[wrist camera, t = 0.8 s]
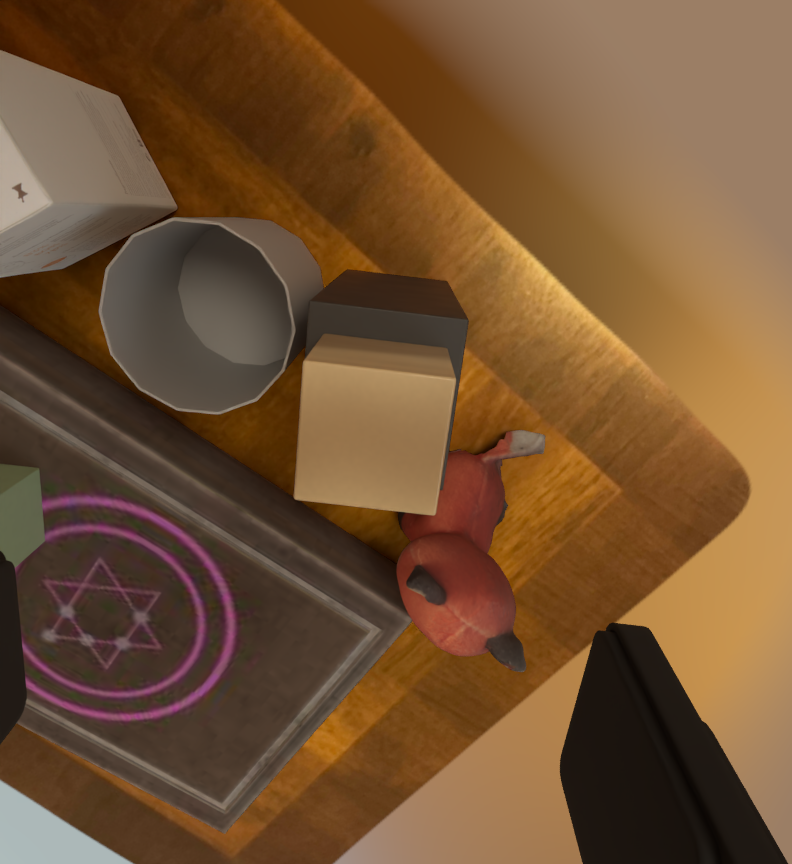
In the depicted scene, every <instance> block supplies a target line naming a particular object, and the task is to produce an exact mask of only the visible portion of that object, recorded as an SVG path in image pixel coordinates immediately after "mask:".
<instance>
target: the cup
mask: <svg viewBox="0 0 792 864" xmlns="http://www.w3.org/2000/svg"><path fill="white" fill-rule="evenodd" d="M323 289H324V288H323V282H322V276H321V270H320V267H319V265H318V264H317V262H316V261H315V259H314V258H313V256H312V255H311V253H310V252H309V250H308V249H307V247H306V246H305V244H304V243H303V241H302V240H301V239H300V238H299V237H297V236H295V235H294V234H292V233H291V232H289V231H287V230H286V229H284V228H282V227H281V226H279V225H277V224H276V223H274V222H273V221H270V220H260V219H250V218H239V217H173V218H171V219H168V220H166V221H163V222H161V223H159V224H156V225H154V226H151V227H149V228H146V229H144V230H142V231H139V232H137V233H134V234H132V235H131V237H130V238H129V239H128V240H127V242H126V243H125V244H124V246H123V247H122V248H121V249H120V251H119V252H118V253H117V255H116V256H115V257H114V258H113V260H112V261H111V262H110V264H109V265H108V266H107V267H106V270H105V276H104V282H103V288H102V293H101V299H100V305H99V311H98V312H99V315H100V319H101V322H102V326H103V329H104V333H105V337H106V340H107V344H108V347H109V351H110V354H111V356H112V357H113V358H114V359H115V361H116V362H117V363H118V364H119V366H120V367H121V368H122V369H123V371H124V372H125V373H126V374H127V376H128V377H129V378H130V379H131V381H132V382H133V383H134V384H135V385H136V387H137V388H138V389H139V390H140V391H142V392H144V393H146V394H148V395H150V396H151V397H153V398H155V399H157V400H159V401H161V402H162V403H164V404H166V405H168V406H170V407H171V408H173V409H175V410H177V411H186V412H197V413H207V414H218V415H219V414H222V413H225V412H228V411H230V410H233V409H236V408H239V407H241V406H244V405H247V404H250V403H252V402H255V401H257V400H258V399H259V398H260V397H261V396H262V395H263V394H264V393H265V392H266V391H267V390H268V388H269V387H270V386H271V385H272V384H273V383H274V382H275V381H276V380H277V379H278V378H279V377H280V375H281V374H282V373H283V372H284V371H285V370H286V369H287V367H288V366H289V365H290V364H291V363H292V361H293V360H294V359H295V358H296V357H297V355H298V354H299V353H300V352H301V350H302V349H303V348H304V347H305V346H306V337H307V322H308V308H309V301H310V300H311V299H312V298H313V297H315V296H316V295H317V294H318V293H319V292H321V291H322V290H323Z"/></svg>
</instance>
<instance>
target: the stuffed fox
mask: <svg viewBox="0 0 792 864" xmlns="http://www.w3.org/2000/svg"><path fill="white" fill-rule="evenodd" d="M544 448H545V436H544V435H542V434H539V433H532V432H529V431H525V430H517V431H509V432H506V436H505V439H504V440H502V439H500V440H499V442H498V444H497V446H496V448H493V449H491V450H489V451H487V452H486V453H484V454H482V453H480V454H479V455H472V454H471V453H468V452H467V451H466V450H464V451H461V449H458V450H457V451H452V452H449V453H448V460H447V467H446V473H445V480H444V486H443V490H440V492H439V498H438V505H437V512H436V514H435V515H433V516H432V515H424V514H415V513H406V512H398V521H399V525H400V528H401V529H402V531H403V532H404V534H405V535H406V536H407V537H408V539H409V540H410V541H411V542H410V543H409V544H408V545H407V546H406V547H405V548H404V550H403V551H402V553H401V555H400V557H399V559H398V563H397V571H396V572H397V579H398V584H399V589H400V593H401V597H402V600H403V603H404V605H405V608H406V610H407V612H408V614H409V616H410V618H411V619H412V621H413V622H414V624H415V625H416V626H417V627H418V628H419V629H420V630H421V632H422V633H424V635H425V636H426V637H427V638H428V639H429V640H430V641H431V642H432V643H433V644H435V645H436V646H437V647H439V648H440V649H442V650H444V651H446V652H448V653H451V654H454V655H457V656H474V655H480V654H483V653H487V652H489V651H490V652H491V654H492V655H493V656H494V657H495V658H496V659H497V660H498V661H499V662H500V663H502V664H503V665H505V666H506V667H507V668H509V669H511V670H513V671H518V672H524V671H525V670H526V663H525V659H524V654H523V646H522V644H521V642H520V641H519V639H518V638H517V637H516V636H515V635H514V633H513V625H514V620H515V614H516V606H515V600H514V595H513V592H512V589H511V587H510V584H509V582H508V580H507V578H506V576H505V575H504V573H503V571H502V570H501V568H500V567H499V565H498V564H497V563H496V562H495V561H494V559H493V558H492V557H490V556H489V555H488V554H487V553H488V551H489V548H490V545H491V542H492V536H493V532H494V529H495V526H497V525H498V524H499V523H500V522H501V521H502V519H503V518H504V514H505V510H507V509H506V508H507V506H508V505H507V503H506V502H505V491H504V486H503V483H502V480H501V470H500V466H502V459H508V458H515V457H519V456H529V455H533V454H542V453H544ZM518 675H519V674H518Z"/></svg>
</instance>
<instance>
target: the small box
mask: <svg viewBox="0 0 792 864" xmlns="http://www.w3.org/2000/svg"><path fill="white" fill-rule="evenodd" d="M177 208H178V207H177V205H176V203H175V201H174V199H173V197H172V195H171V193H170V191H169V190H168V188H167V186H166V184H165V182H164V180H163V178H162V176H161V175H160V173H159V171H158V169H157V167H156V165H155V163H154V162H153V160H152V158H151V156H150V154H149V152H148V150H147V148H146V147H145V145H144V143H143V141H142V139H141V137H140V135H139V133H138V132H137V130H136V128H135V126H134V124H133V122H132V120H131V118H130V116H129V114H128V113H127V111H126V109H125V107H124V105H123V103H122V101H121V99H120V97H119V96H117V95H115V94H112V93H110V92H107V91H105V90H102V89H99V88H97V87H94V86H92V85H89V84H87V83H84V82H82V81H79V80H77V79H74V78H72V77H69V76H67V75H64V74H61V73H59V72H56V71H53V70H51V69H48V68H46V67H43V66H41V65H38V64H36V63H33V62H30V61H28V60H25V59H23V58H20V57H17V56H15V55H12V54H10V53H7V52H4V51H2V50H0V278H1V277H7V276H14V275H21V274H28V273H35V272H43V271H50V270H58V269H63V268H65V267H67V266H69V265H71V264H74V263H76V262H78V261H80V260H82V259H84V258H86V257H88V256H90V255H92V254H94V253H95V252H97V251H99V250H101V249H103V248H105V247H107V246H109V245H111V244H113V243H115V242H117V241H119V240H121V239H123V238H125V237H126V236H128V235H130V234H132V233H134V232H136V231H138V230H140V229H142V228H144V227H146V226H148V225H150V224H151V223H153V222H155V221H157V220H159V219H161V218H163V217H165V216H166V215H168V214H170V213H172V212H174V211H176V210H177Z"/></svg>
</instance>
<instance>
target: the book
mask: <svg viewBox="0 0 792 864" xmlns="http://www.w3.org/2000/svg"><path fill="white" fill-rule="evenodd" d="M0 464H7V465H16V466H25V467H34V468H39V472H40V484H41V496H42V508H43V521H44V533H45V541H44V542H43V543H42V544H41V545H40V546H39V547H38V548H37V549H36V550H34V551H33V552H32V553H31V554H30V555H29V556H28V557H27V558H25V559H24V560H23V561H22V562H21V563H20V564H19V565H18V566H16V567H15V573H16V583H17V594H18V605H19V615H20V626H21V636H22V647H23V658H24V668H25V679H26V689H27V700H26V705H25V708H24V711H23V713H22V715H21V717H20V719H19V720H18V722H17V724H19V725H21V726H23V727H25V728H27V729H28V730H30V731H32V732H34V733H36V734H38V735H40V736H42V737H44V738H45V739H47V740H49V741H51V742H53V743H55V744H57V745H59V746H60V747H62V748H64V749H66V750H68V751H70V752H72V753H74V754H76V755H77V756H79V757H81V758H83V759H85V760H87V761H89V762H91V763H92V764H94V765H96V766H98V767H100V768H102V769H104V770H106V771H108V772H109V773H111V774H113V775H115V776H117V777H119V778H121V779H123V780H124V781H126V782H128V783H130V784H132V785H134V786H136V787H138V788H140V789H141V790H143V791H145V792H147V793H149V794H151V795H153V796H155V797H156V798H158V799H160V800H162V801H164V802H166V803H168V804H170V805H172V806H173V807H175V808H177V809H179V810H181V811H183V812H185V813H187V814H188V815H190V816H192V817H194V818H196V819H198V820H200V821H202V822H204V823H205V824H207V825H209V826H211V827H213V828H215V829H217V830H219V831H220V832H222V833H224V834H225V833H226V832H227V831H228V830H229V828H230V827H231V826H232V825H233V824H234V823H235V822H236V821H237V819H238V818H239V817H240V816H241V815H242V814H243V813H244V811H245V810H246V809H247V808H248V807H249V806H250V805H251V804H252V802H253V801H254V800H255V799H256V798H257V797H258V796H259V794H260V793H261V792H262V791H263V790H264V789H265V788H266V787H267V785H268V784H269V783H270V782H271V781H272V780H273V779H274V777H275V776H276V775H277V774H278V773H279V772H280V771H281V769H282V768H283V767H284V766H285V765H286V764H287V763H288V762H289V760H290V759H291V758H292V757H293V756H294V755H295V754H296V752H297V751H298V750H299V749H300V748H301V747H302V746H303V745H304V743H305V742H306V741H307V740H308V739H309V738H310V737H311V735H312V734H313V733H314V732H315V731H316V730H317V729H318V728H319V726H320V725H321V724H322V723H323V722H324V721H325V720H326V718H327V717H328V716H329V715H330V714H331V713H332V712H333V711H334V709H335V708H336V707H337V706H338V705H339V704H340V703H341V701H342V700H343V699H344V698H345V697H346V696H347V695H348V693H349V692H350V691H351V690H352V689H353V688H354V687H355V686H356V684H357V683H358V682H359V681H360V680H361V679H362V678H363V676H364V675H365V674H366V673H367V672H368V671H369V670H370V669H371V667H372V666H373V665H374V664H375V663H376V662H377V661H378V659H379V658H380V657H381V656H382V655H383V654H384V653H385V652H386V650H387V649H388V648H389V647H390V646H391V645H392V644H393V642H394V641H395V640H396V639H397V638H398V637H399V636H400V635H401V633H402V632H403V631H404V630H405V629H406V628H407V627H408V625H409V624H410V623H411V622H412V619H411V618H410V616H409V614H408V612H407V610H406V608H405V605H404V603H403V600H402V597H401V593H400V589H399V584H398V579H397V572H396V571H397V565H396V564H395V563H393V562H392V561H390V560H389V559H387V558H386V557H384V556H382V555H381V554H379V553H378V552H376V551H375V550H373V549H372V548H370V547H369V546H367V545H366V544H364V543H363V542H361V541H360V540H358V539H357V538H355V537H353V536H352V535H350V534H349V533H347V532H346V531H344V530H343V529H341V528H340V527H338V526H337V525H335V524H334V523H332V522H331V521H329V520H327V519H326V518H324V517H323V516H321V515H320V514H318V513H317V512H315V511H314V510H312V509H311V508H309V507H308V506H306V505H305V504H303V503H301V502H300V501H298V500H295V499H294V497H292V496H291V495H289V494H288V493H286V492H285V491H283V490H282V489H280V488H279V487H277V486H276V485H274V484H272V483H271V482H269V481H268V480H266V479H265V478H263V477H262V476H260V475H259V474H257V473H256V472H254V471H253V470H251V469H250V468H248V467H246V466H245V465H243V464H242V463H240V462H239V461H237V460H236V459H234V458H233V457H231V456H230V455H228V454H227V453H225V452H224V451H222V450H221V449H219V448H217V447H216V446H214V445H213V444H211V443H210V442H208V441H207V440H205V439H204V438H202V437H201V436H199V435H198V434H196V433H195V432H193V431H191V430H190V429H188V428H187V427H185V426H184V425H182V424H181V423H179V422H178V421H176V420H175V419H173V418H172V417H170V416H169V415H167V414H165V413H164V412H162V411H161V410H159V409H158V408H156V407H155V406H153V405H152V404H150V403H149V402H147V401H146V400H144V399H143V398H141V397H140V396H138V395H136V394H135V393H133V392H132V391H130V390H129V389H127V388H126V387H124V386H123V385H121V384H120V383H118V382H117V381H115V380H114V379H112V378H110V377H109V376H107V375H106V374H104V373H103V372H101V371H100V370H98V369H97V368H95V367H94V366H92V365H91V364H89V363H88V362H86V361H85V360H83V359H81V358H80V357H78V356H77V355H75V354H74V353H72V352H71V351H69V350H68V349H66V348H65V347H63V346H62V345H60V344H59V343H57V342H55V341H54V340H52V339H51V338H49V337H48V336H46V335H45V334H43V333H42V332H40V331H39V330H37V329H36V328H34V327H33V326H31V325H29V324H28V323H26V322H25V321H23V320H22V319H20V318H19V317H17V316H16V315H14V314H13V313H11V312H10V311H8V310H7V309H5V308H4V307H2V306H0Z"/></svg>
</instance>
